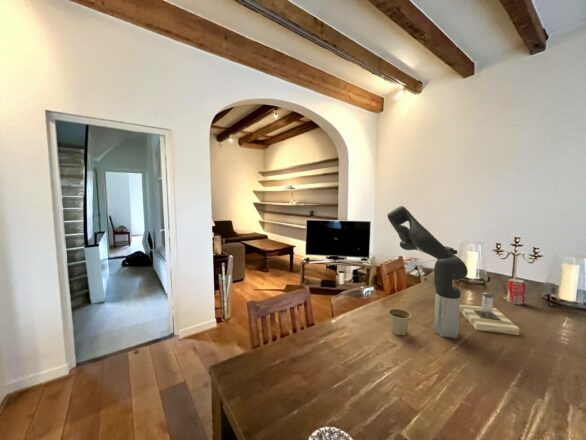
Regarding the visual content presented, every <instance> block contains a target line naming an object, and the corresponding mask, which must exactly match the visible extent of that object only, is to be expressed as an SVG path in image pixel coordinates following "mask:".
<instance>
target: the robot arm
mask: <svg viewBox="0 0 586 440" xmlns="http://www.w3.org/2000/svg"><path fill="white" fill-rule="evenodd" d="M387 219H388V221H389V223H390V224H391V226H392V228H393V229H394V230H395V232H396V233H397V234H398V237H399V239H400V242H399V247H400V248H402V249H403V250H406V251H419V252H420V253H423V254H424V253H425V254H427V255H430V257H433V258H435V259H436V261H435V263H434V268H433V277H434V278H433V283H434V289H435V295H434V296H435V298H434V313H433V314H434V317H433V332H434V333H436V334H437V335H439V336H440V337H442V338H443V337H444V338H451V339H458V336H459V323H460V305H461V295H462V294H461V290H460V288H457V287H455V286H453V281H456V280H462V279H465V278H466V277H467V276H468V273H469V272H468V271H469V270H468V267H467V265H466V263H465V262H464V261H463V260H462V259H461V258H460V257H458V250H456V249H454V248H453V247H449V246H446V245H445V246H444V245H443V243H441V242H440V241H439V240H438V239H437V238H436V237H435V236H434V235H433V234H432V233H431V232H430V231H429V230H428V229H427V228H425V226H423V225H422V224H421V223H420V222H419V221H418V220H417V219H416V218H415V217H414V216H413V214H412V213H410V211H409V209H407V208H406V207H405V206H403V205H400V206H398V207H396V208H394V209H393V210H391V211H390V212H388V213H387ZM406 222H408V225H409V227H407V226H405V225H403V224H405V223H406Z"/></svg>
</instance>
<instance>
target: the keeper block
mask: <svg viewBox="0 0 586 440" xmlns="http://www.w3.org/2000/svg"><path fill="white" fill-rule="evenodd" d="M481 309H482V306H477V305H476V306H475V305H465V304H460V310H459V313H461V314H462V315H463V316H464V317H465V319H466V320H467V321H468V322H469V324H471V325H472V327H473V328H474V329H475V331H483V332H492V333H500V334H509V335H516V336H519V335H520V328H519V327H518V326H517V325H516V324H515V323H513V322H512V320H510V319H509V318H508V317H507V316H505V315H504V314H503V312H500V311H499V310H498V309H497V308H495V307H492V318H488V317H482V316H481Z"/></svg>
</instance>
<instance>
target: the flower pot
mask: <svg viewBox="0 0 586 440" xmlns="http://www.w3.org/2000/svg"><path fill="white" fill-rule="evenodd" d="M387 313H388V316H389V319H390V320H389V321H390V322H389V323H390V329H391V330H390V331H391V332H392V333H393V334H395V335H397V336H405V335H407V333H408V332H407V331H408V327H409V323H410V320H411V319H410V318H411V317H412V313H411V312H409V311H408V310H405V309H401V308H390V309H388V310H387Z"/></svg>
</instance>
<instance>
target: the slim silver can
mask: <svg viewBox="0 0 586 440" xmlns="http://www.w3.org/2000/svg"><path fill="white" fill-rule="evenodd" d="M481 295H482V297H481V307H482V309H481V316H482V317H488V318H492V308H493V303H494V298H495V293H494V292H491V291H486V290H484V291H481Z"/></svg>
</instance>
